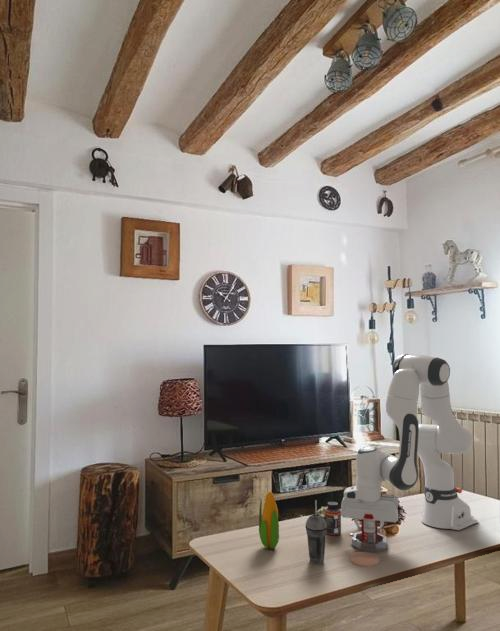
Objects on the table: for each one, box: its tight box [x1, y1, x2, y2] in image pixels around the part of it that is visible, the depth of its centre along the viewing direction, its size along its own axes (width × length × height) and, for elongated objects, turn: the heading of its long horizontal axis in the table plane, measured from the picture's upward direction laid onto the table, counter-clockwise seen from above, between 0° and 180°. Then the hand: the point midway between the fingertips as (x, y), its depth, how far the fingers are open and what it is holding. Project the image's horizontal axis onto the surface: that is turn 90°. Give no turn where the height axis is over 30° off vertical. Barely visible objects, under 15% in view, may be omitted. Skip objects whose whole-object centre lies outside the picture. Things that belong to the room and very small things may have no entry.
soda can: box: [360, 513, 378, 543], centre depth 183 cm, size 6×6×12 cm
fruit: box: [317, 505, 328, 519], centre depth 203 cm, size 9×9×8 cm
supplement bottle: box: [325, 501, 342, 536], centre depth 194 cm, size 6×6×11 cm
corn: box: [258, 491, 280, 550], centre depth 180 cm, size 7×8×20 cm
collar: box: [349, 531, 388, 553], centre depth 183 cm, size 13×12×3 cm
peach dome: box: [348, 551, 380, 567], centre depth 170 cm, size 10×10×1 cm
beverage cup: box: [305, 499, 327, 566], centre depth 169 cm, size 7×7×20 cm
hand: (369, 531), depth 183 cm, fingers closed on soda can, 5 cm apart
